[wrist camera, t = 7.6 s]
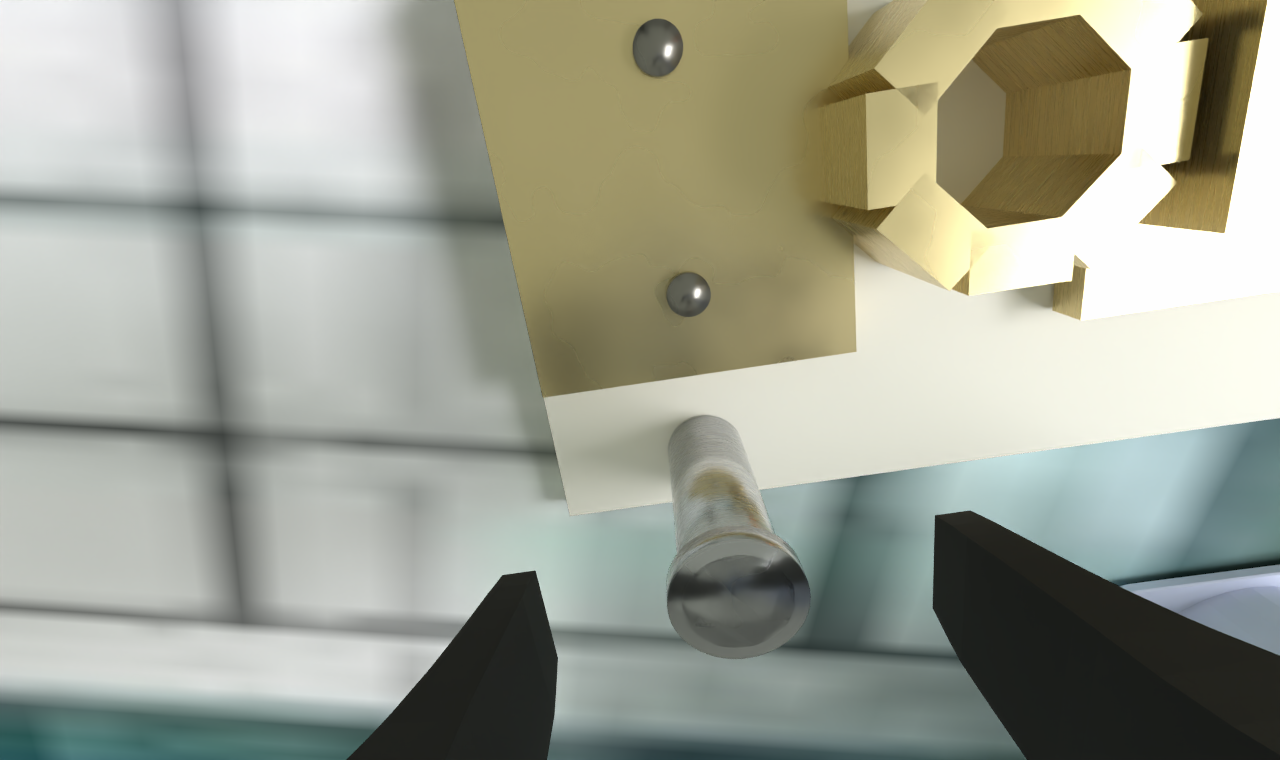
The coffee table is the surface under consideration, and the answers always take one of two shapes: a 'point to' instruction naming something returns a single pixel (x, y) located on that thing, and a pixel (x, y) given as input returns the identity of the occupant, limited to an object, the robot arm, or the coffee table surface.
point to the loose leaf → (1207, 185)
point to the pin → (727, 550)
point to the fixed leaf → (803, 162)
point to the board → (937, 368)
